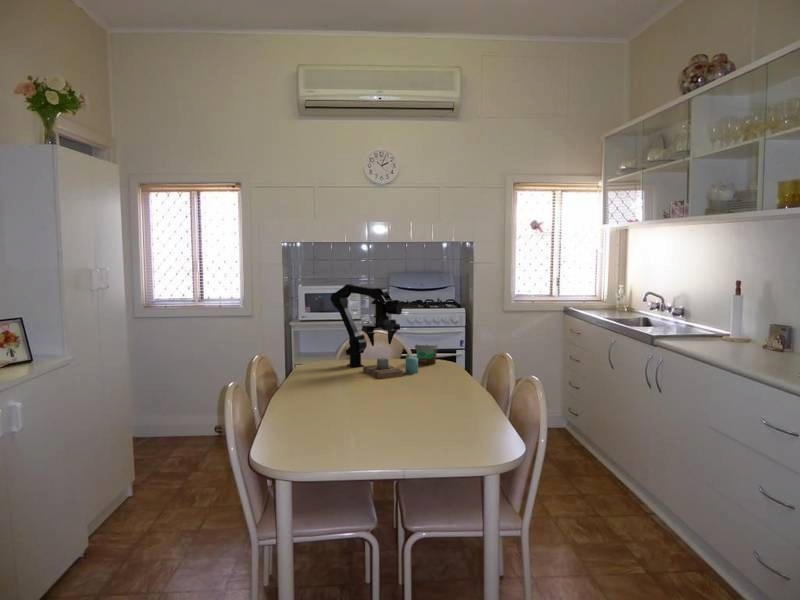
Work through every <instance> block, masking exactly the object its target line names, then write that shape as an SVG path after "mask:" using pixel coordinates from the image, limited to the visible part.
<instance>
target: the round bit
mask: <svg viewBox="0 0 800 600" xmlns="http://www.w3.org/2000/svg"><path fill="white" fill-rule="evenodd" d="M404 365H405V374H408V375H415V373H416V374H418V373H419V364H418V358H417V356H416V357H415V356H406V357H405V364H404Z"/></svg>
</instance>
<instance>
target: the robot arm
mask: <svg viewBox="0 0 800 600" xmlns="http://www.w3.org/2000/svg"><path fill="white" fill-rule="evenodd" d="M352 293H353V294H358V295H363V296H368V297H370V298H371V299H373V300H372V301H371V303H370V304H371V305H374V306H375V307H374V310H375V311H374V312H375V313H374V315H373V317H374V318H375V320H374V321H375V322H374V323H373V325H371V324H366V325H362V327H361V332H364V333H365V334H366V336H367V337H368V339H369V342H370V344H371V346H372V347H374V345H375V332H374V331H379V330H381V331H382V330H383V331H385V332H386V331H387V342H388V345H391V344H392V343H391V342H392V340H393V338H394V335H395V334H396V333H397V332H399V331H400V330H401V325H400V323H397V320H396V319H389V318H390V317H389V315H399V316H400V315H401V314H402V311H403V305H402V303H401V300H399V299H398V300H394V299H393V298H392V296H391V295H390V293H389V290H388V288H386V287H368V286H362V285H356V284H353V283H349V284H348V283H347V284H345V285H344V286H342V288H340V289H339V290H337V291H335V292H333V293H332V294H331V295H330V302H331V304H332V305H333V307H334V308H336V310H338V313H339V315H340V316H341V319H342V322H343V324H344V327H345V328H346V329H345V330H346V331H347V334H348V337H349V338H348V344H349V347H347V349H345V353H346V355H347V356H349V363H347V365H346V366H348V367H350V368H358V367H363V366H365V365H364V364H362V354H364V352H365V349H366V348H367V346H368V345H367V343H368V342H367V340H366V337H365V335H364V334H360V332H359V331H358V328H357V326H356V324H355V321H354V319H353V317H352V314H351V312H350V309H349V300H348V298H349V297H350V296H351V295H352ZM388 314H389V315H388Z"/></svg>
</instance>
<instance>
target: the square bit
mask: <svg viewBox="0 0 800 600" xmlns="http://www.w3.org/2000/svg"><path fill="white" fill-rule="evenodd" d="M376 365H377V369H379V370H385V369H388V365H389V359H388V358H386V357H382V358H377V359H376Z"/></svg>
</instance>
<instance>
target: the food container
mask: <svg viewBox="0 0 800 600" xmlns="http://www.w3.org/2000/svg"><path fill="white" fill-rule="evenodd" d="M414 349H415V351H416V357H417V358H418V365H423V366H433V365H436V362H437V361H436V360H437V352H438V349H439V345H438V344H435V345H429V344H422V345H421V344H418V343H415V346H414Z"/></svg>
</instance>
